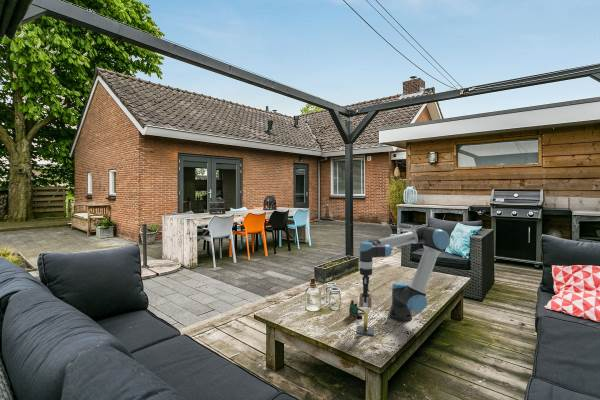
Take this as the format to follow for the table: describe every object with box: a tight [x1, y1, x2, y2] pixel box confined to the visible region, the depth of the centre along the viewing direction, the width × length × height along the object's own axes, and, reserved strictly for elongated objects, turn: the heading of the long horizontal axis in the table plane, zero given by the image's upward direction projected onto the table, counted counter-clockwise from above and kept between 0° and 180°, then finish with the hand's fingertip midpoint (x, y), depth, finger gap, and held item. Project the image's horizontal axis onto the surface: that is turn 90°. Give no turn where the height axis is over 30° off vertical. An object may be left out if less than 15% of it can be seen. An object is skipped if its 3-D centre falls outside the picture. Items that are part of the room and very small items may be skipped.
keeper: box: [356, 311, 375, 337], centre depth 187 cm, size 10×9×12 cm
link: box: [358, 292, 373, 309], centre depth 187 cm, size 7×7×6 cm
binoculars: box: [348, 299, 365, 320], centre depth 208 cm, size 9×11×10 cm
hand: (365, 304), depth 187 cm, fingers closed on link, 7 cm apart
